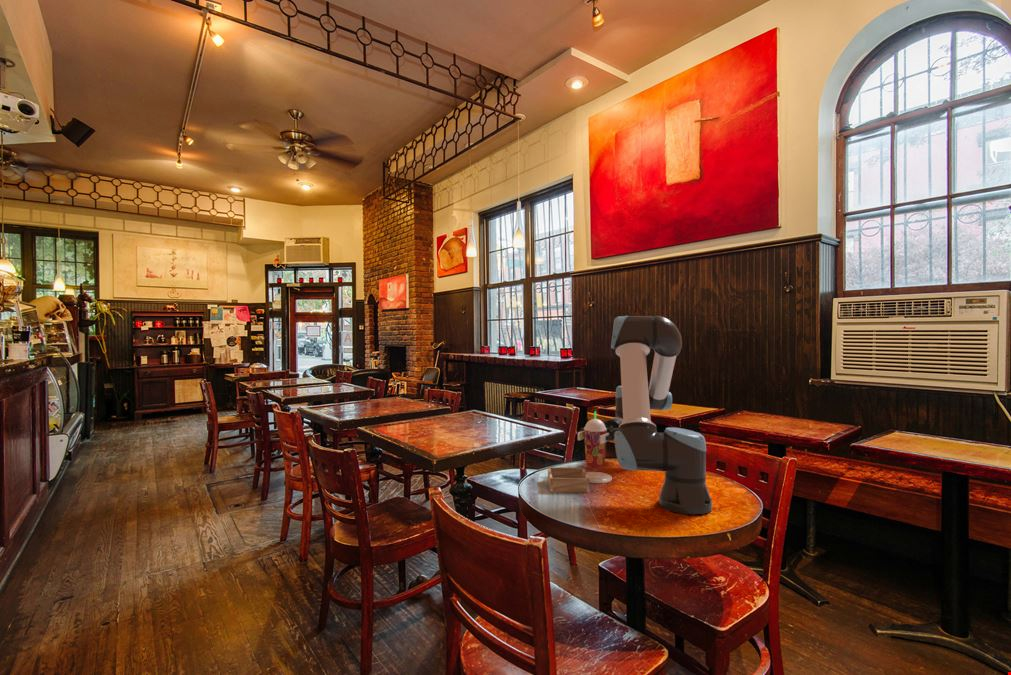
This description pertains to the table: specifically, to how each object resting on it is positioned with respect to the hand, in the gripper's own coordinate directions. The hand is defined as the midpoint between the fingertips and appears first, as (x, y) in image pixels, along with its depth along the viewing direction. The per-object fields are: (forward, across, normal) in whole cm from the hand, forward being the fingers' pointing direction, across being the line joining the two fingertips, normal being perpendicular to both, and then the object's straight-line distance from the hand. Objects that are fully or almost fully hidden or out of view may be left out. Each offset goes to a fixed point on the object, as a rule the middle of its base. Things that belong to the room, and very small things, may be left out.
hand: (589, 438), depth 166 cm
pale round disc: (-4, 0, -16) cm, 16 cm away
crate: (+9, +4, -15) cm, 18 cm away
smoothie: (-5, 0, -11) cm, 12 cm away
